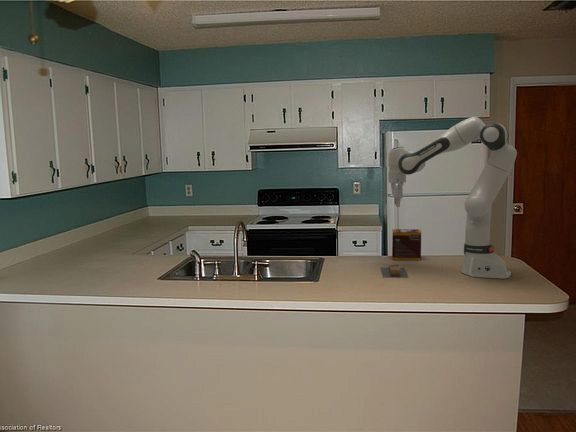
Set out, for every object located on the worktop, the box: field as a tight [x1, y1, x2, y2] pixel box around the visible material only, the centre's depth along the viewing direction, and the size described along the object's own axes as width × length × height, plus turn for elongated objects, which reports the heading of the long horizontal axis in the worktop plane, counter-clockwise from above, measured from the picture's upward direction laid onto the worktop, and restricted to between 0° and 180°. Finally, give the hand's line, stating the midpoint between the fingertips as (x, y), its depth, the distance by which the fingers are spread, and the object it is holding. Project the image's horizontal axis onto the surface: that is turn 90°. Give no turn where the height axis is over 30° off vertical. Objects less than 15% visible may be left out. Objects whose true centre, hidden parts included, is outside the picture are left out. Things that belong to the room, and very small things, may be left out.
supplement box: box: [391, 228, 422, 262], centre depth 284 cm, size 10×15×16 cm
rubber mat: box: [380, 266, 409, 279], centre depth 254 cm, size 20×12×1 cm, turn 173°
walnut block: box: [388, 264, 401, 277], centre depth 251 cm, size 4×4×10 cm
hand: (397, 205), depth 267 cm, fingers open, 8 cm apart
